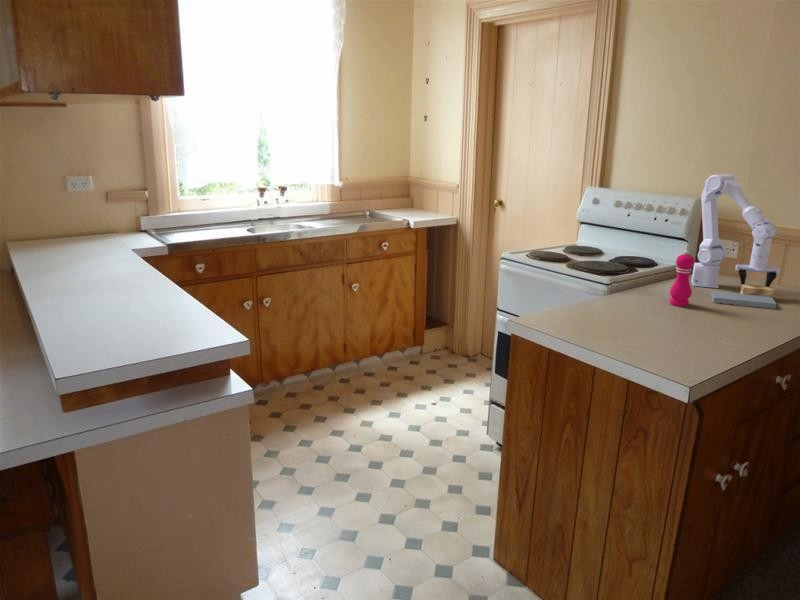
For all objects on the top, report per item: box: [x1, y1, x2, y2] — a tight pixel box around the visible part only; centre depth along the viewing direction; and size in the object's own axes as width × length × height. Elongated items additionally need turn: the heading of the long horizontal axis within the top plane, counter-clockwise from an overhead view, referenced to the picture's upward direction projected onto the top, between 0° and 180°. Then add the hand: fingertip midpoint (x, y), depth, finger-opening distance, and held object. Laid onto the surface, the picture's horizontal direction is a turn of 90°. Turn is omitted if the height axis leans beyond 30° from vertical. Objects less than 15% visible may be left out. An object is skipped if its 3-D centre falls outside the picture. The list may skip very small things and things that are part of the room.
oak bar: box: [739, 283, 775, 299], centre depth 235 cm, size 10×5×4 cm, turn 70°
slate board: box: [710, 290, 777, 310], centre depth 231 cm, size 20×10×2 cm, turn 70°
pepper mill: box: [669, 249, 695, 307], centre depth 225 cm, size 7×7×20 cm
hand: (753, 290), depth 239 cm, fingers open, 7 cm apart
